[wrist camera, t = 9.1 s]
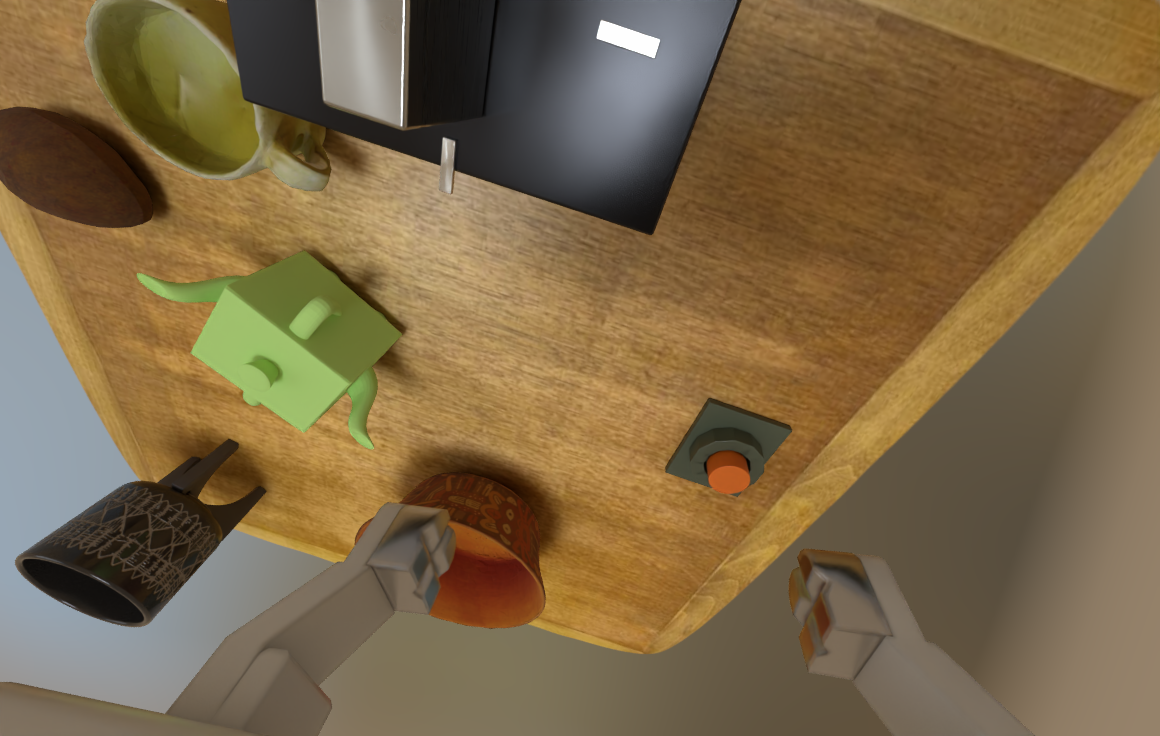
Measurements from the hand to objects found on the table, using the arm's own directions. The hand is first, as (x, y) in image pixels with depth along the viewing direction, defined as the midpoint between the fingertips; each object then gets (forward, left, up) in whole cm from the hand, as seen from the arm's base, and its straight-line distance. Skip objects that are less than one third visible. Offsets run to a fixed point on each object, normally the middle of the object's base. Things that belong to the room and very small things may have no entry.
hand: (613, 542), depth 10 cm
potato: (+36, -28, -26) cm, 52 cm away
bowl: (+34, +19, -26) cm, 47 cm away
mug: (+18, -21, -26) cm, 38 cm away
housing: (+3, +22, -26) cm, 35 cm away
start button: (+3, +22, -24) cm, 33 cm away
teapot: (+29, -8, -26) cm, 40 cm away
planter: (+63, -1, -26) cm, 68 cm away
